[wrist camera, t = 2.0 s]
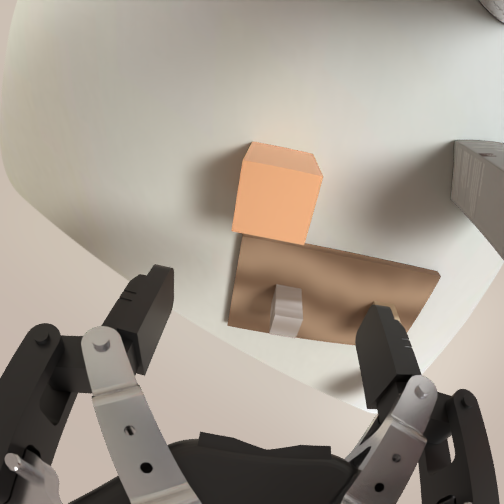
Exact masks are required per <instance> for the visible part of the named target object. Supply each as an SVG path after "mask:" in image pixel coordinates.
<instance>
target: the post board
mask: <svg viewBox="0 0 504 504" xmlns="http://www.w3.org/2000/svg"><path fill="white" fill-rule="evenodd" d="M440 277H441V276H440V274H439V273H438V271H434V270H429V269H425V268H420V267H416V266H411V265H406V264H402V263H397V262H393V261H388V260H383V259H379V258H374V257H369V256H365V255H360V254H355V253H350V252H346V251H341V250H336V249H331V248H326V247H321V246H316V245H311V244H306V243H304V245H300V244H295V243H290V242H285V241H280V240H275V239H270V238H265V237H259V236H254V235H249V234H244V233H243V236H242V242H241V247H240V253H239V259H238V265H237V271H236V277H235V283H234V289H233V295H232V301H231V307H230V313H229V319H228V325H227V326H232V327H237V328H242V329H248V330H253V331H259V332H265V333H269V334H273V335H279V336H285V337H291V338H303V339H310V340H317V341H324V342H332V343H340V344H349V345H356V344H355V338H356V333H357V331H358V329H359V327H360V325H361V323H362V321H363V319H364V317H365V315H366V314H367V312H368V310H369V308H370V306H371V305H373V304H374V305H381V306H388V307H390V308H391V310H392V313H393V315H394V318H395V320H398V321H399V322H400V323H401V324H402V326H403V327H404V328H405V330H406V332H408V330H409V329H410V327H411V326H412V324H413V323H414V321H415V320H416V318H417V316H418V315H419V313H420V312H421V310H422V308H423V307H424V305H425V303H426V302H427V300H428V298H429V297H430V295H431V293H432V292H433V290H434V288H435V286H436V285H437V283H438V281H439V279H440Z"/></svg>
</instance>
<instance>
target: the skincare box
mask: <svg viewBox="0 0 504 504" xmlns="http://www.w3.org/2000/svg"><path fill="white" fill-rule="evenodd" d="M451 200H452V201H453V202H454V203H455V204H456V205H457V206H458V207H459V208H460V210H461V211H462V212H463V213H464V214H465V215H466V216H467V217H468V218H469V219H470V220H471V221H472V223H473V224H474V225H475V226H476V227H477V228H478V229H479V231H480V232H481V233H482V234H483V235H484V236H485V238H486V239H487V240H488V241H489V242H490V244H491V245H492V246H493V247H494V249H495V250H496V251H497V252H498V254H499V255H500V256H501V257H502V259H503V260H504V143H499V142H491V141H479V140H457V141H455V145H454V168H453V180H452V191H451Z"/></svg>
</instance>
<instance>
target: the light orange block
mask: <svg viewBox="0 0 504 504" xmlns="http://www.w3.org/2000/svg"><path fill="white" fill-rule="evenodd" d="M322 179H323V175H322V173H321V171H320V168H319V166H318V164H317V162H316V159H315V157H314V155H313V154H311V153H307V152H302V151H298V150H293V149H288V148H283V147H278V146H273V145H268V144H263V143H257V142H252V143H251V145H250V147H249V149H248V151H247V153H246V155H245V157H244V159H243V162H242V168H241V174H240V180H239V186H238V193H237V199H236V205H235V212H234V218H233V225H232V231H233V232H238V233H244V234H249V235H254V236H259V237H265V238H270V239H275V240H280V241H285V242H290V243H295V244H300V245H304V243H305V240H306V236H307V233H308V229H309V226H310V222H311V219H312V215H313V212H314V208H315V205H316V201H317V197H318V194H319V190H320V186H321V183H322Z"/></svg>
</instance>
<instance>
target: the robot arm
mask: <svg viewBox="0 0 504 504" xmlns="http://www.w3.org/2000/svg"><path fill="white" fill-rule="evenodd" d="M479 1H480V2H481V3H482V5H483V6H484V7H485V8H486V9H487V10H488V11H489V12H490V13H491V14H492V15H493V16H494V17H496V18H497V19H498V20H500V21H501V22H503V23H504V0H479ZM173 301H174V270H173V268H170V267H165V266H160V265H156V264H155V265H154V266H153V267H152V269H151V270H150V272H149V273H148V275H147V276H146V275H141V274H140V275H138V276H137V277H135V278H134V279H132V280H131V281H130V282H129V283H128V285H127V287H126V288H125V289H124V292H122V294H121V296H120V298H119V299H118V300H117V302H116V303H115V305H114V307H113V308H112V310H111V311H110V313H109V315H108V316H107V318H106V319H105V321H104V323H103V324H102V326H99V327H95V328H92V329H90V330H89V331H88V332H86V333H85V335H84V336H61V335H60V332H59V330H58V329H57V328H56V327H55V326H54V325H52V324H47V323H44V324H39V325H36V326H35V327H33V328H32V329H31V330H30V331H29V332H28V333H27V335H26V336H25V338H24V340H23V341H22V343H21V344H20V346H19V348H18V349H17V351H16V352H15V354H14V356H13V357H12V359H11V361H10V362H9V364H8V366H7V367H6V369H5V371H4V373H3V375H2V376H1V378H0V504H63V503H62V502H61V500H60V497H59V479H58V476H57V474H56V472H55V470H54V469H53V468H52V467H51V464H52V461H53V458H54V455H55V452H56V449H57V446H58V443H59V440H60V437H61V435H62V432H63V429H64V427H65V424H66V422H67V419H68V416H69V414H70V411H71V409H72V406H73V404H74V401H75V399H76V397H77V394H78V393H93V396H92V401H93V405H94V409H95V412H96V415H97V418H98V422H99V425H100V428H101V431H102V434H103V437H104V439H105V442H106V445H107V448H108V451H109V453H110V455H111V458H112V461H113V463H114V466H115V468H116V471H117V473H118V475H119V476H117V477H115V478H114V479H112V480H110V481H108V482H107V483H105V484H103V485H102V486H100V487H98V488H96V489H94V490H93V491H91V492H89V493H87V494H85V495H83V496H81V497H79V498H78V499H76V500H74V501H72V502H70V503H68V504H396V503H397V501H398V499H399V497H400V496H401V494H402V492H403V490H404V488H405V486H406V485H407V483H408V481H409V479H410V477H411V475H412V473H413V471H414V469H415V467H416V465H417V463H419V473H420V484H421V497H422V504H499V495H498V488H497V482H496V475H495V469H494V464H493V459H492V454H491V450H490V446H489V442H488V437H487V433H486V429H485V426H484V422H483V419H482V415H481V411H480V408H479V405H478V402H477V399H476V397H475V396H474V395H473V394H472V393H471V392H470V391H468V390H466V389H460V390H458V391H456V392H455V393H454V394H453V395H452V396H449V395H446V394H443V393H439V392H437V389H436V386H435V385H434V383H433V382H432V381H431V380H430V379H428V378H427V377H424V376H422V375H421V372H420V369H419V366H418V363H417V360H416V357H415V354H414V352H413V349H412V348H411V347H412V346H411V343H410V341H409V338H408V335H407V332H406V330H405V328H404V327H403V326H402V324H401V323H400V322H399V321H398V320H395V318H394V315H393V313H392V310H391V308H390V307H388V306H381V305H374V304H373V305H371V306H370V308H369V310H368V312H367V314H366V315H365V317H364V319H363V321H362V323H361V325H360V327H359V329H358V331H357V333H356V338H355V344H356V350H357V355H358V360H359V365H360V370H361V376H362V381H363V387H364V393H365V399H366V405H367V409H377V410H378V414H377V415H376V416H375V418H374V419H373V421H372V422H371V424H370V425H369V427H368V428H367V430H366V432H365V433H364V435H363V436H362V438H361V439H360V441H359V442H358V444H357V445H356V446H355V448H354V449H353V450H352V452H351V453H350V454H349V455H348V456H347V457H346V458H345V459H342V458H340V457H338V456H335V455H333V454H331V447H330V446H309V445H298V446H292V447H286V448H279V449H271V450H266V449H262V448H259V447H256V446H253V445H251V444H248V443H246V442H243V441H240V440H237V439H235V438H231V437H226V436H220V435H214V434H209V433H204V432H200V436H199V439H189V440H183V441H178V442H175V443H172V444H169V445H167V444H166V442H165V440H164V438H163V436H162V434H161V432H160V430H159V428H158V425H157V423H156V421H155V419H154V417H153V415H152V412H151V410H150V408H149V406H148V403H147V401H146V399H145V397H144V394H143V392H142V389H141V387H140V385H138V383H137V381H136V378H135V375H136V373H138V374H141V375H145V374H146V371H147V369H148V366H149V364H150V361H151V359H152V356H153V354H154V352H155V349H156V346H157V344H158V342H159V339H160V337H161V335H162V332H163V330H164V327H165V325H166V323H167V320H168V318H169V315H170V313H171V311H172V307H173ZM451 435H452V438H453V443H454V448H455V459H454V461H453V462H452V463H451V458H450V452H449V447H448V441H447V438H448V437H450V436H451Z"/></svg>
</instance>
